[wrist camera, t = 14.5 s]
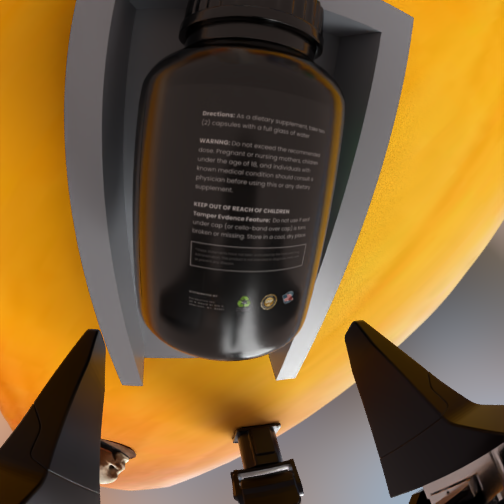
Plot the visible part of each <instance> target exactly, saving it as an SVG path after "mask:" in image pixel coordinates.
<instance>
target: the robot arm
mask: <svg viewBox="0 0 504 504" xmlns="http://www.w3.org/2000/svg"><path fill="white" fill-rule="evenodd" d="M345 343H346V347H347V351H348V355H349V359H350V364H351V368H352V372H353V375H354V379H355V381H356V384H357V387H358V390H359V393H360V396H361V399H362V402H363V405H364V408H365V411H366V415H367V418H368V421H369V424H370V427H371V430H372V433H373V437H374V440H375V443H376V447H377V450H378V454H379V457H380V461H381V464H382V468H383V472H384V475H385V479H386V483H387V486H388V490H389V494H390V497H391V498H392V497H395V496H398V495H401V494H404V493H407V492H409V491H412V490H415V489H417V488H420V487H423V489H421V490H420V491H418V492H416V493H415V494H413V495H412V497H411V499H410V502H409V504H504V405H480V404H476V403H473V402H471V401H469V400H468V399H466V398H465V397H463V396H462V395H460V394H458V393H457V392H456V391H454V390H453V389H451V388H450V387H448V386H447V385H446V384H444V383H443V382H441V381H440V380H439V379H437V378H436V377H435V376H433V375H432V374H431V373H430V372H428V371H427V370H426V369H425V368H423V367H422V366H421V365H420V364H418V363H417V362H416V361H415V360H413V359H412V358H411V357H409V356H408V355H407V354H406V353H404V352H403V351H402V350H400V349H399V348H398V347H397V346H395V345H394V344H393V343H392V342H390V341H389V340H388V339H387V338H385V337H384V336H383V335H381V334H380V333H379V332H378V331H376V330H375V329H374V328H372V327H371V326H370V325H369V324H367V323H366V322H365V321H363V320H359V321H354V322H352V324H351V325H350V327H349V329H348V331H347V333H346V334H345ZM105 354H106V348H105V343H104V341H103V338H102V335H101V332H100V331H99V330H98V329H88V330H87V331H86V332H85V333H84V334H83V336H82V337H81V338H80V339H79V341H78V342H77V343H76V345H75V346H74V347H73V349H72V350H71V351H70V353H69V354H68V355H67V356H66V358H65V359H64V361H63V362H62V363H61V365H60V366H59V367H58V369H57V370H56V371H55V373H54V374H53V376H52V377H51V378H50V380H49V381H48V383H47V384H46V386H45V387H44V388H43V390H42V391H41V393H40V394H39V396H38V397H37V399H36V400H35V402H34V404H32V406H31V407H30V409H29V411H28V412H27V413H26V415H25V416H24V418H23V419H22V421H21V422H20V424H19V425H18V426H17V427H16V429H15V430H14V431H13V433H12V434H11V435H10V437H9V438H8V439H7V440H6V441H5V443H4V444H3V445H2V447H1V448H0V504H100V494H99V493H100V441H101V425H102V413H103V403H104V392H105ZM280 427H281V424H280V423H278V424H271V425H264V426H256V427H248V428H239V429H237V430H236V432H235V435H234V438H233V443H239V448H240V453H241V458H242V462H243V467H244V469H243V470H234V472H231V478H232V485H233V496H234V499H235V500H236V501H238V503H239V504H301V497H300V496H302V495H304V493H303V488H302V484H301V481H300V478H299V475H298V472H297V469H296V466H295V463H294V460H293V459H290V460H288V461H283V460H282V456H281V453H280V449H279V446H278V442H277V438H276V433H277V431H278V430H279V428H280ZM288 468H289V471H288V470H284V471H279V470H283V469H288ZM275 471H279V472H275ZM270 472H274V473H270ZM265 473H270V474H265ZM260 474H265V475H260ZM254 475H260V476H254ZM248 476H254V477H248ZM242 477H248V478H244V479H243V480H242Z"/></svg>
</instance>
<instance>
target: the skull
mask: <svg viewBox="0 0 504 504" xmlns="http://www.w3.org/2000/svg"><path fill="white" fill-rule="evenodd" d="M134 457H136V454H135V452H134V451H133V450H131V449H128V448H126V447H125V446H122V445H121V444H118V443H115V442H114V443H113V442H110V441H107V440H103V439H101V441H100V484H108V483H112V482H114V481H115V480H116V479H117V477H118V475H119V474H120V473H121V472H122V471H123V470H124V469H125V463H126V462H128V461H129V459H130V458H131V459H132V458H134Z"/></svg>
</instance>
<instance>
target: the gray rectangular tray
mask: <svg viewBox="0 0 504 504" xmlns="http://www.w3.org/2000/svg"><path fill="white" fill-rule="evenodd" d="M188 1H189V0H76V5H75V10H74V15H73V20H72V26H71V32H70V39H69V46H68V55H67V65H66V78H65V101H64V130H65V153H66V167H67V177H68V187H69V195H70V202H71V209H72V216H73V222H74V228H75V233H76V238H77V243H78V248H79V253H80V257H81V262H82V266H83V270H84V274H85V278H86V282H87V286H88V289H89V293H90V297H91V300H92V303H93V307H94V310H95V313H96V316H97V320H98V323H99V326H100V329H101V332H102V334H103V337H104V340H105V343H106V346H107V348H108V351H109V354H110V356H111V359H112V361H113V364H114V366H115V369H116V371H117V374H118V376H119V378H120V381H121V383H122V385H131V386H143V369H144V358H198V357H195V356H191V355H188V354H185V353H182V352H180V351H178V350H176V349H174V348H172V347H170V346H168V345H167V344H165V343H164V342H162V341H161V340H160V339H158V338H157V337H156V336H155V335H154V334H153V333H152V332H151V331H150V330H149V329H148V327H147V326H146V325H145V323H144V321H143V319H142V317H141V315H140V313H139V309H138V304H137V296H136V286H135V274H134V256H133V224H132V198H133V166H134V149H135V135H136V124H137V114H138V106H139V98H140V93H141V87H142V83H143V81H144V79H145V77H146V76H147V74H148V73H149V71H150V70H151V69H152V68H153V66H154V65H155V64H156V63H158V62H159V61H160V60H161V59H163V58H164V57H166V56H168V55H169V54H171V53H173V52H176V51H178V50H180V49H183V48H184V45H183V44H182V43H181V42H180V41H179V38H178V36H179V29H180V25H181V23H182V21H183V20H184V17H185V12H186V8H187V4H188ZM318 1H320V4H321V6H322V7H323V10H324V23H323V35H322V36H323V39H324V45H323V53H322V55H321V56H320V57H319V58H317V59H315V60H314V62H315V63H316V64H318V65H319V66H321V67H322V68H323V69H325V70H326V71H327V72H328V73H329V74H330V75H331V76H332V77H333V78H334V79H335V81H336V82H337V83H338V85H339V87H340V88H341V91H342V93H343V96H344V99H345V103H346V112H345V124H344V131H343V139H342V146H341V152H340V159H339V165H338V172H337V178H336V184H335V189H334V195H333V200H332V206H331V211H330V216H329V222H328V227H327V232H326V236H325V241H324V246H323V251H322V255H321V260H320V264H319V269H318V273H317V277H316V282H315V286H314V290H313V294H312V298H311V301H310V305H309V309H308V312H307V316H306V319H305V322H304V324H303V326H302V328H301V330H300V331H299V333H298V334H297V335H296V336H295V337H294V338H293V339H292V340H291V341H290V342H289V343H288V344H286V345H285V346H283V347H282V348H280V349H278V350H276V351H274V352H272V353H270V354H269V358H270V361H271V365H272V368H273V372H274V375H275V379H276V380H284V379H292V378H295V377H296V375H297V374H298V372H299V370H300V368H301V366H302V364H303V362H304V360H305V358H306V356H307V354H308V352H309V350H310V348H311V346H312V344H313V342H314V340H315V338H316V335H317V333H318V331H319V329H320V327H321V325H322V323H323V321H324V318H325V316H326V314H327V312H328V310H329V307H330V305H331V303H332V301H333V298H334V296H335V294H336V291H337V289H338V287H339V284H340V282H341V279H342V277H343V275H344V272H345V270H346V267H347V265H348V262H349V260H350V257H351V255H352V252H353V249H354V247H355V244H356V242H357V239H358V236H359V233H360V231H361V228H362V225H363V222H364V220H365V217H366V214H367V211H368V208H369V205H370V202H371V199H372V196H373V193H374V190H375V187H376V184H377V181H378V178H379V174H380V171H381V168H382V164H383V161H384V158H385V154H386V151H387V147H388V143H389V140H390V136H391V132H392V128H393V124H394V120H395V116H396V112H397V108H398V104H399V99H400V95H401V90H402V85H403V81H404V76H405V70H406V65H407V59H408V54H409V48H410V41H411V34H412V27H413V19H414V18H413V17H411V16H410V15H408V14H406V13H404V12H403V11H401V10H399V9H397V8H395V7H393V6H391V5H390V4H388V3H386V2H384V1H382V0H318Z"/></svg>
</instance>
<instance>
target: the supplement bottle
mask: <svg viewBox="0 0 504 504" xmlns="http://www.w3.org/2000/svg"><path fill="white" fill-rule="evenodd" d="M323 23H324V10H323V7H322V6H321V4H320V1H318V0H189V1H188V4H187V8H186V12H185V17H184V20H183V21H182V23H181V25H180V29H179V36H178V38H179V41H180V42H181V43H182V44H183V45H184V48H183V49H180V50H178V51H176V52H173V53H171V54H169V55H168V56H166V57H164V58H163V59H161V60H160V61H159V62H158V63H156V64H155V65H154V66H153V68H152V69H151V70H150V71H149V73H148V74H147V76H146V77H145V79H144V81H143V83H142V87H141V93H140V98H139V106H138V114H137V124H136V135H135V149H134V166H133V198H132V224H133V256H134V274H135V286H136V296H137V304H138V309H139V313H140V315H141V317H142V319H143V321H144V323H145V325H146V326H147V327H148V329H149V330H150V331H151V332H152V333H153V334H154V335H155V336H156V337H157V338H158V339H160V340H161V341H162V342H164V343H165V344H167V345H168V346H170V347H172V348H174V349H176V350H178V351H180V352H182V353H185V354H188V355H191V356H195V357H198V358H203V359H208V360H216V361H240V360H248V359H253V358H258V357H261V356H265V355H267V354H270V353H272V352H274V351H276V350H278V349H280V348H282V347H283V346H285V345H286V344H288V343H289V342H290V341H291V340H292V339H293V338H294V337H295V336H296V335H297V334H298V333H299V331H300V330H301V328H302V326H303V324H304V322H305V319H306V316H307V312H308V309H309V305H310V301H311V298H312V294H313V290H314V286H315V282H316V277H317V273H318V269H319V264H320V260H321V255H322V251H323V246H324V241H325V236H326V232H327V227H328V222H329V216H330V211H331V206H332V200H333V195H334V189H335V184H336V178H337V172H338V165H339V159H340V152H341V146H342V139H343V131H344V124H345V112H346V103H345V99H344V96H343V93H342V91H341V88H340V87H339V85H338V83H337V82H336V81H335V79H334V78H333V77H332V76H331V75H330V74H329V73H328V72H327V71H326V70H325V69H323V68H322V67H321V66H319V65H318V64H316V63H315V62H314V60H315V59H317V58H319V57H320V56H321V55H322V53H323V45H324V39H323V36H322V35H323Z"/></svg>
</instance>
